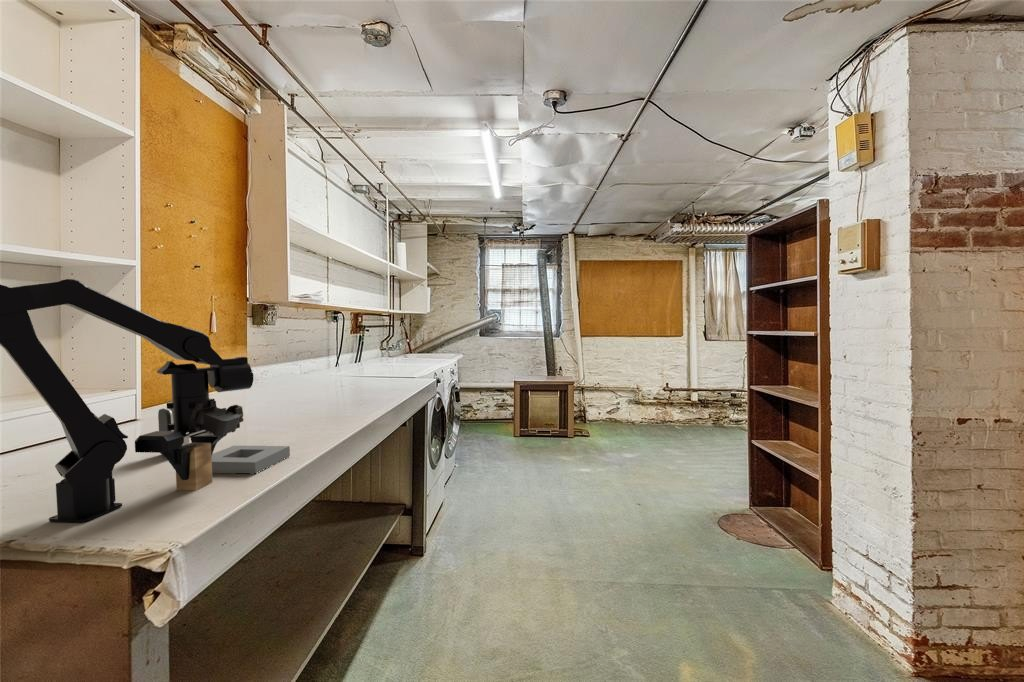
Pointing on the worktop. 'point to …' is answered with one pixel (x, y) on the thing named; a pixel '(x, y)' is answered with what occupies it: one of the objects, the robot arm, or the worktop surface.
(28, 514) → the worktop surface
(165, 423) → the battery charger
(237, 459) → the socket plate
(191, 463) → the wood grain block
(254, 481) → the worktop surface
